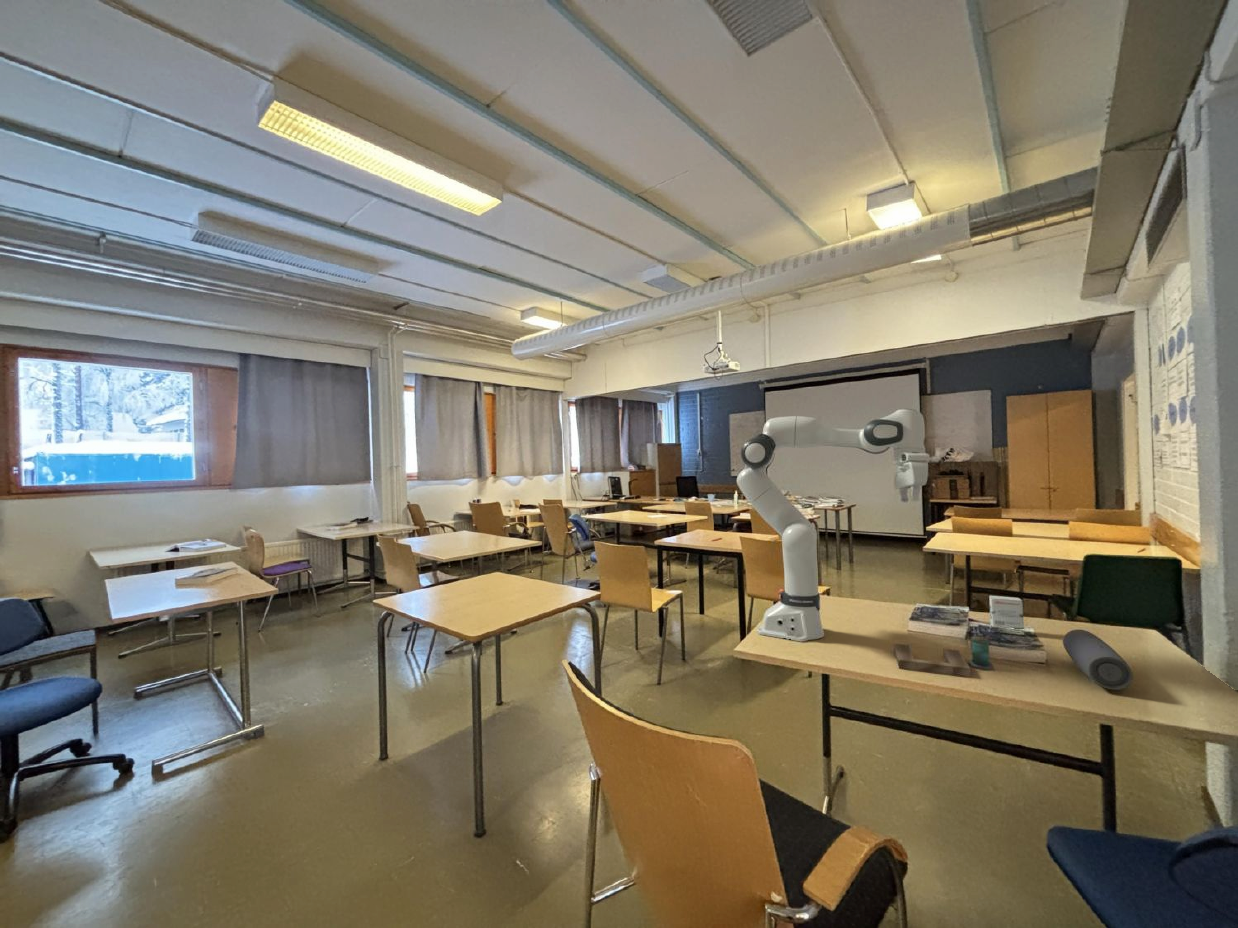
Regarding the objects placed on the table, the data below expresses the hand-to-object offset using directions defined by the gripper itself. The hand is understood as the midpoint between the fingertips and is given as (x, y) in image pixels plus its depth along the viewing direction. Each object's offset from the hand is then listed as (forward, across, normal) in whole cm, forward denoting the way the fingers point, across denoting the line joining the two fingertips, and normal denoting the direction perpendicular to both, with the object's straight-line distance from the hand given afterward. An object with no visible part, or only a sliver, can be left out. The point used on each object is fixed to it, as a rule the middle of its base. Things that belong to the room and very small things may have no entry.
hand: (909, 501), depth 159 cm
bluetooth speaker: (+46, +11, +42) cm, 63 cm away
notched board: (+48, +8, +3) cm, 48 cm away
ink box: (+42, -24, +37) cm, 61 cm away
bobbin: (+47, +8, +16) cm, 50 cm away
